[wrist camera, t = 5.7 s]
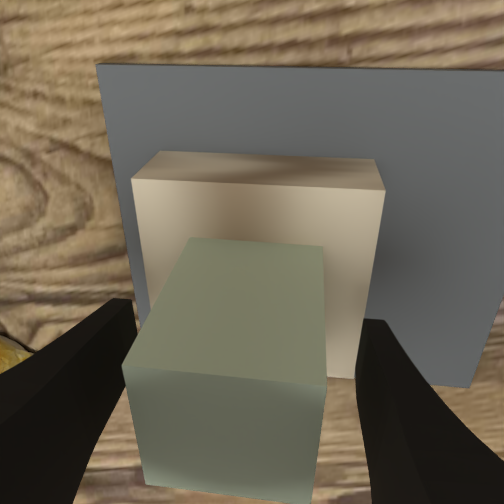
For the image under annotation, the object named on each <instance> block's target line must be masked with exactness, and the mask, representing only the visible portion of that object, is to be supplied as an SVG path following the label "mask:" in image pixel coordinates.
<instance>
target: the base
mask: <svg viewBox="0 0 504 504" xmlns="http://www.w3.org/2000/svg"><path fill="white" fill-rule="evenodd" d="M131 182H132V189H133V195H134V202H135V209H136V215H137V222H138V228H139V235H140V242H141V248H142V255H143V261H144V268H145V275H146V281H147V288H148V295H149V301H150V308H151V309H152V307H153V305H154V303H155V302H156V300H157V298H158V296H159V294H160V292H161V290H162V288H163V286H164V285H165V283H166V281H167V279H168V277H169V275H170V273H171V271H172V270H173V268H174V266H175V264H176V262H177V260H178V258H179V256H180V255H181V253H182V251H183V249H184V247H185V245H186V243H187V241H188V239H189V238H190V237H196V238H211V239H225V240H240V241H254V242H269V243H283V244H298V245H312V246H323V271H324V303H325V335H326V367H327V377H337V378H348V379H354V374H355V365H356V359H357V353H358V347H359V341H360V335H361V329H362V323H363V318H364V315H365V309H366V304H367V298H368V292H369V286H370V280H371V274H372V268H373V262H374V257H375V251H376V245H377V239H378V233H379V227H380V221H381V215H382V210H383V204H384V198H385V192H386V190H385V187H384V185H383V182H382V179H381V177H380V174H379V171H378V169H377V166H376V163H375V160H374V159H359V158H333V157H308V156H283V155H258V154H232V153H207V152H182V151H159V152H158V153H157V154H156V155H155V156H154V157H153V158H152V159H151V160H150V161H149V162H148V163H147V164H145V165H144V166H143V167H142V168H141V169H140V170H139V171H138V172H137V173H136V174H135V175H134V176H133V177H132V178H131Z"/></svg>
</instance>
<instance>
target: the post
mask: <svg viewBox="0 0 504 504" xmlns="http://www.w3.org/2000/svg"><path fill="white" fill-rule="evenodd" d="M122 370H123V375H124V379H125V384H126V389H127V394H128V399H129V404H130V409H131V414H132V419H133V424H134V429H135V434H136V439H137V444H138V448H139V453H140V458H141V463H142V468H143V473H144V478H145V483H146V484H148V485H156V486H163V487H171V488H178V489H186V490H193V491H201V492H208V493H216V494H223V495H231V496H238V497H246V498H253V499H261V500H269V501H276V502H284V503H291V504H311V499H312V492H313V484H314V477H315V470H316V463H317V456H318V448H319V441H320V434H321V427H322V420H323V412H324V405H325V398H326V391H327V367H326V335H325V303H324V271H323V246H312V245H298V244H283V243H269V242H254V241H240V240H225V239H211V238H196V237H190V238H189V239H188V241H187V243H186V245H185V247H184V249H183V251H182V253H181V255H180V256H179V258H178V260H177V262H176V264H175V266H174V268H173V270H172V271H171V273H170V275H169V277H168V279H167V281H166V283H165V285H164V286H163V288H162V290H161V292H160V294H159V296H158V298H157V300H156V302H155V303H154V305H153V307H152V309H151V311H150V313H149V315H148V317H147V318H146V320H145V322H144V324H143V326H142V328H141V330H140V332H139V333H138V335H137V337H136V339H135V341H134V343H133V345H132V347H131V349H130V350H129V352H128V354H127V356H126V358H125V360H124V362H123V364H122Z"/></svg>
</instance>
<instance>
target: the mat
mask: <svg viewBox="0 0 504 504" xmlns="http://www.w3.org/2000/svg"><path fill="white" fill-rule="evenodd" d="M96 70H97V76H98V82H99V88H100V94H101V99H102V105H103V111H104V117H105V123H106V129H107V134H108V140H109V146H110V152H111V158H112V164H113V169H114V175H115V181H116V187H117V193H118V199H119V204H120V210H121V216H122V222H123V228H124V234H125V239H126V245H127V251H128V257H129V263H130V269H131V275H132V280H133V286H134V292H135V298H136V304H137V310H138V315H139V321H140V327H141V328H142V326H143V324H144V322H145V320H146V318H147V317H148V315H149V313H150V311H151V308H150V301H149V295H148V288H147V281H146V275H145V268H144V261H143V255H142V248H141V242H140V235H139V228H138V222H137V215H136V209H135V202H134V195H133V189H132V182H131V178H132V177H133V176H134V175H135V174H136V173H137V172H138V171H139V170H140V169H141V168H142V167H143V166H144V165H145V164H147V163H148V162H149V161H150V160H151V159H152V158H153V157H154V156H155V155H156V154H157V153H158V152H159V151H182V152H207V153H232V154H258V155H283V156H308V157H333V158H359V159H374V160H375V163H376V166H377V169H378V171H379V174H380V177H381V179H382V182H383V185H384V187H385V190H386V192H385V198H384V204H383V210H382V215H381V221H380V227H379V233H378V239H377V245H376V251H375V257H374V262H373V268H372V274H371V280H370V286H369V292H368V298H367V304H366V309H365V315H364V318H368V319H381V320H385V321H386V322H387V323H388V325H389V327H390V328H391V330H392V332H393V333H394V335H395V336H396V338H397V340H398V341H399V343H400V344H401V346H402V347H403V349H404V350H405V352H406V353H407V355H408V356H409V358H410V359H411V361H412V362H413V363H414V365H415V366H416V367H417V369H418V370H419V372H420V373H421V374H422V376H423V377H424V378H425V380H426V381H427V382H428V383H429V385H439V386H450V387H461V388H469V387H470V385H471V382H472V379H473V377H474V374H475V371H476V368H477V366H478V363H479V360H480V358H481V355H482V352H483V349H484V347H485V344H486V341H487V339H488V336H489V333H490V330H491V328H492V325H493V322H494V320H495V317H496V314H497V311H498V309H499V306H500V303H501V301H502V298H503V295H504V70H473V69H413V68H354V67H294V66H234V65H175V64H115V63H100V64H96ZM354 377H355V374H354Z"/></svg>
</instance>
